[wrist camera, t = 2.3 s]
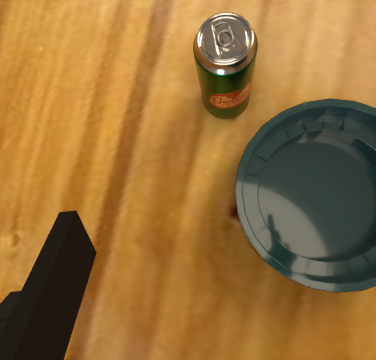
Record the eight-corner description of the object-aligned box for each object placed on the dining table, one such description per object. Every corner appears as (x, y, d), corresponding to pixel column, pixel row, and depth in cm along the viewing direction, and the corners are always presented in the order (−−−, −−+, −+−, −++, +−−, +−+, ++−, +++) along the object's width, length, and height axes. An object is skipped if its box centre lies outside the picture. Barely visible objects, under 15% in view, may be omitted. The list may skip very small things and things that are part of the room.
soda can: (212, 126, 37) (204, 79, 25) (197, 86, 37) (182, 21, 26) (255, 110, 36) (268, 55, 24) (239, 70, 37) (245, -3, 25)
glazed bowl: (245, 288, 34) (248, 300, 29) (225, 129, 36) (224, 113, 31) (422, 273, 32) (458, 282, 27) (387, 107, 35) (415, 86, 30)
